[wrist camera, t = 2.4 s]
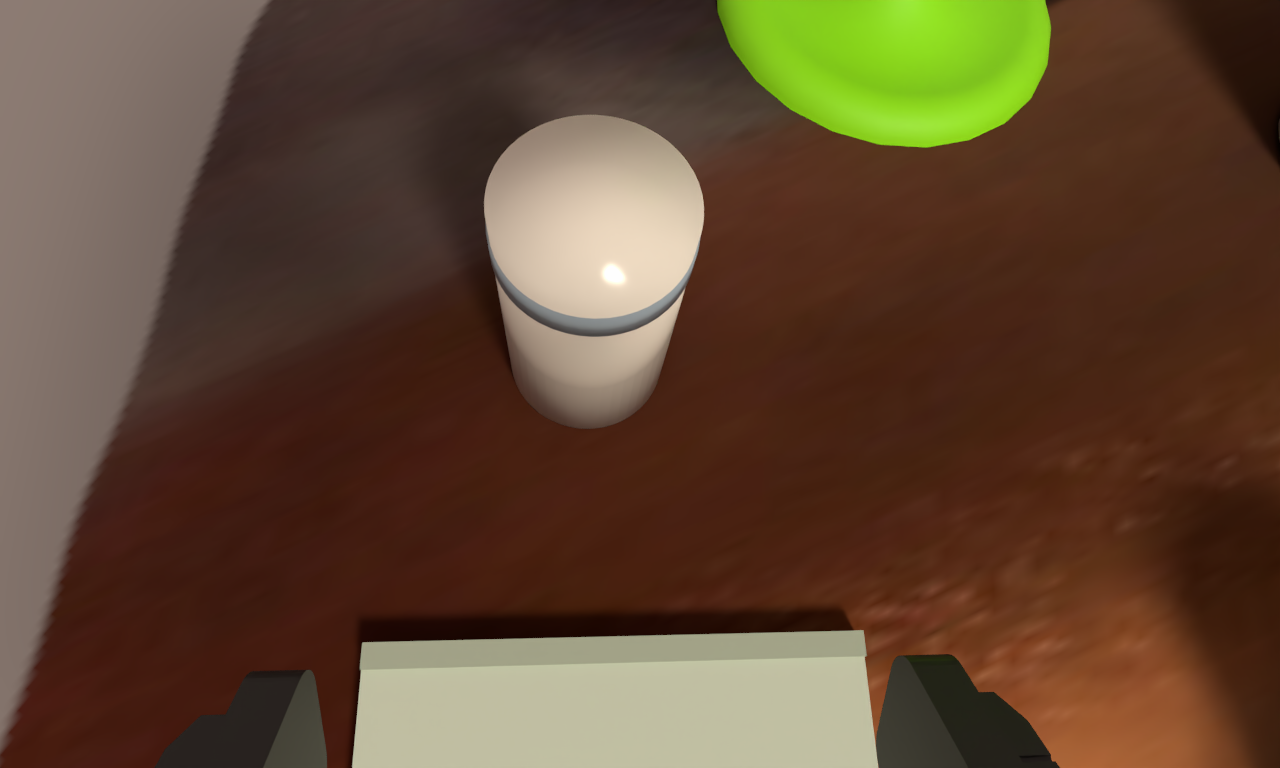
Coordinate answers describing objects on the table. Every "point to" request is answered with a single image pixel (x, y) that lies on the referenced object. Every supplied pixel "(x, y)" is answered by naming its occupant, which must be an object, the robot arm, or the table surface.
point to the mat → (617, 702)
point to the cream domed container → (591, 262)
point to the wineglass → (894, 62)
